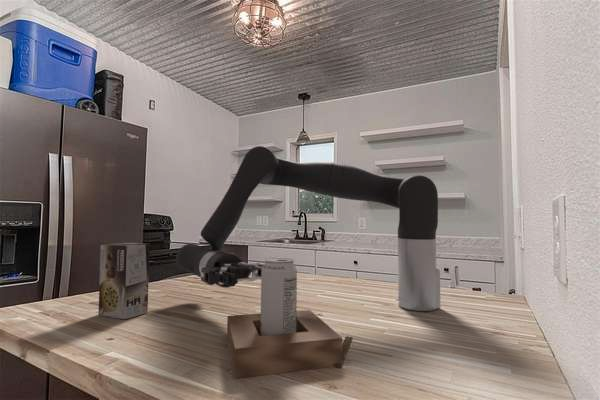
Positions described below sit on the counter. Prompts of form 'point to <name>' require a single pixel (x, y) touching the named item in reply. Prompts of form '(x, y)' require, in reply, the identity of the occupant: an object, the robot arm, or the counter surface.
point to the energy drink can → (278, 297)
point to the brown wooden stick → (343, 351)
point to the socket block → (281, 346)
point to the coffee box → (124, 280)
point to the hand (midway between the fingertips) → (254, 278)
